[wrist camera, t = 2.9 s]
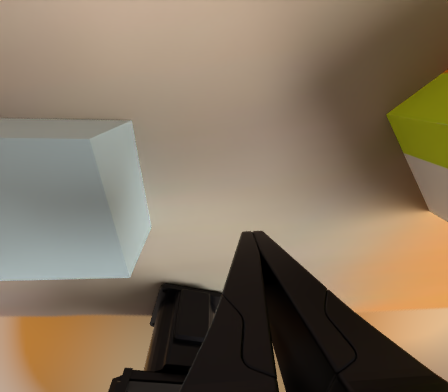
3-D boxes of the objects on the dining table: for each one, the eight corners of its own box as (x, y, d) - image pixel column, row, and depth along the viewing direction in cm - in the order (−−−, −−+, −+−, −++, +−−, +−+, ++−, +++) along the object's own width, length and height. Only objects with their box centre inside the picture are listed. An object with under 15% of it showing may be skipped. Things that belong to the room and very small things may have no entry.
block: (152, 225, 16) (129, 277, 12) (34, 226, 16) (-36, 281, 11) (132, 119, 12) (89, 139, 8) (-25, 117, 12) (-164, 136, 7)
